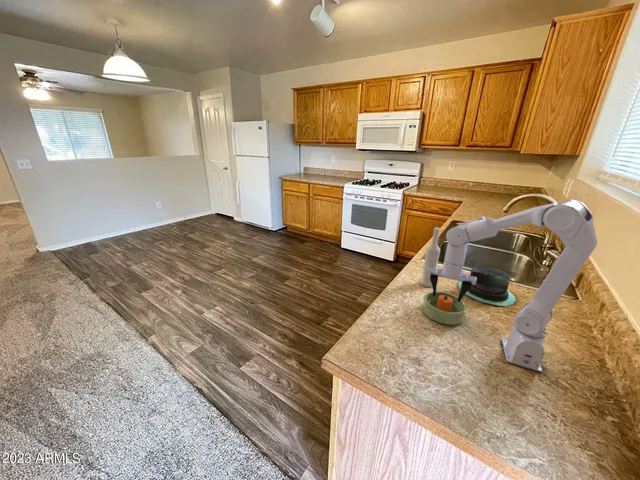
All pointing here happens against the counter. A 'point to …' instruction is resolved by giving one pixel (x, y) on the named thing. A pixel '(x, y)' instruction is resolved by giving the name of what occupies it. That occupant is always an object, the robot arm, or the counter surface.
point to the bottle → (431, 258)
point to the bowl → (441, 316)
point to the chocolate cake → (490, 286)
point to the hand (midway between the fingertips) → (446, 297)
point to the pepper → (444, 303)
